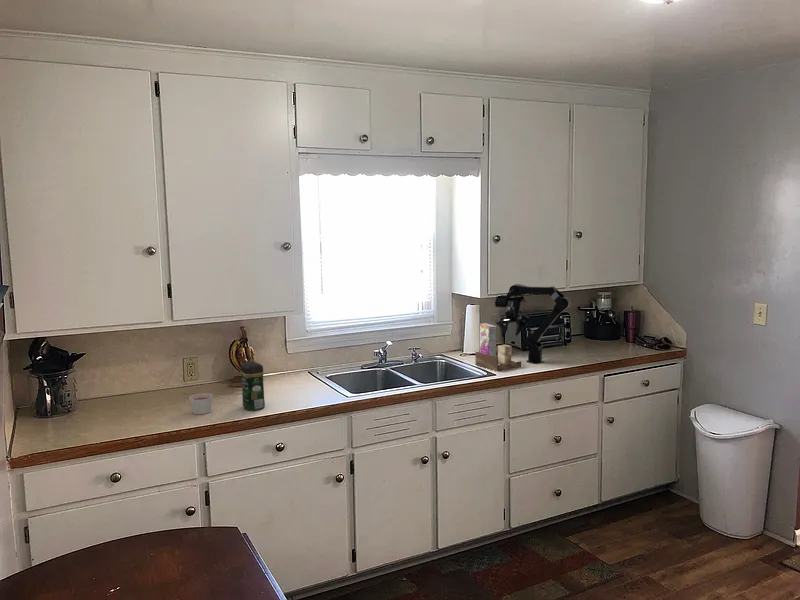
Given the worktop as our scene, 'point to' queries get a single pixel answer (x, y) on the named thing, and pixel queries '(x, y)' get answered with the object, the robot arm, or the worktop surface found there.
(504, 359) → the maple block
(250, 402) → the coffee jar
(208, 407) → the candle
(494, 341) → the candy bar box
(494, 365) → the trap box
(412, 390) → the worktop surface
